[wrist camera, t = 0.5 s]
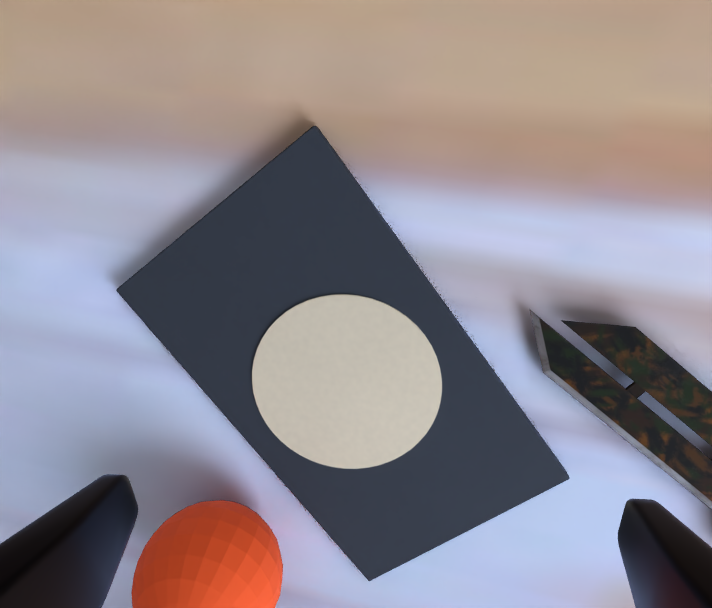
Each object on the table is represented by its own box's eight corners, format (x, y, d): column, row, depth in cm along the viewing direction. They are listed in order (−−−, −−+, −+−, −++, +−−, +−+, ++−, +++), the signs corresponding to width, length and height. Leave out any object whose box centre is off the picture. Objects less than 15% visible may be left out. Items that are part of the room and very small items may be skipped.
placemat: (369, 572, 27) (368, 583, 26) (122, 286, 23) (113, 290, 23) (566, 471, 24) (571, 480, 23) (316, 125, 20) (313, 124, 20)
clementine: (331, 561, 27) (306, 697, 20) (233, 604, 29) (180, 744, 22) (247, 450, 25) (189, 558, 19) (148, 503, 27) (62, 619, 20)
